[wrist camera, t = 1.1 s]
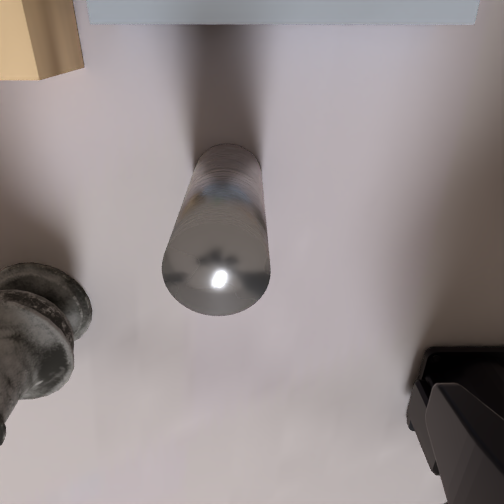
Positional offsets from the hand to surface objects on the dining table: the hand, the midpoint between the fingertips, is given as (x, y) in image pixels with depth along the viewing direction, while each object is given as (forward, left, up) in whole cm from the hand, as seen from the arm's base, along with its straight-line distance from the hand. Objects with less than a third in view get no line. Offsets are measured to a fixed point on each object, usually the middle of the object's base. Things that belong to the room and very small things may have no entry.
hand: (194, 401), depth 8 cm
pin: (0, 0, -12) cm, 12 cm away
